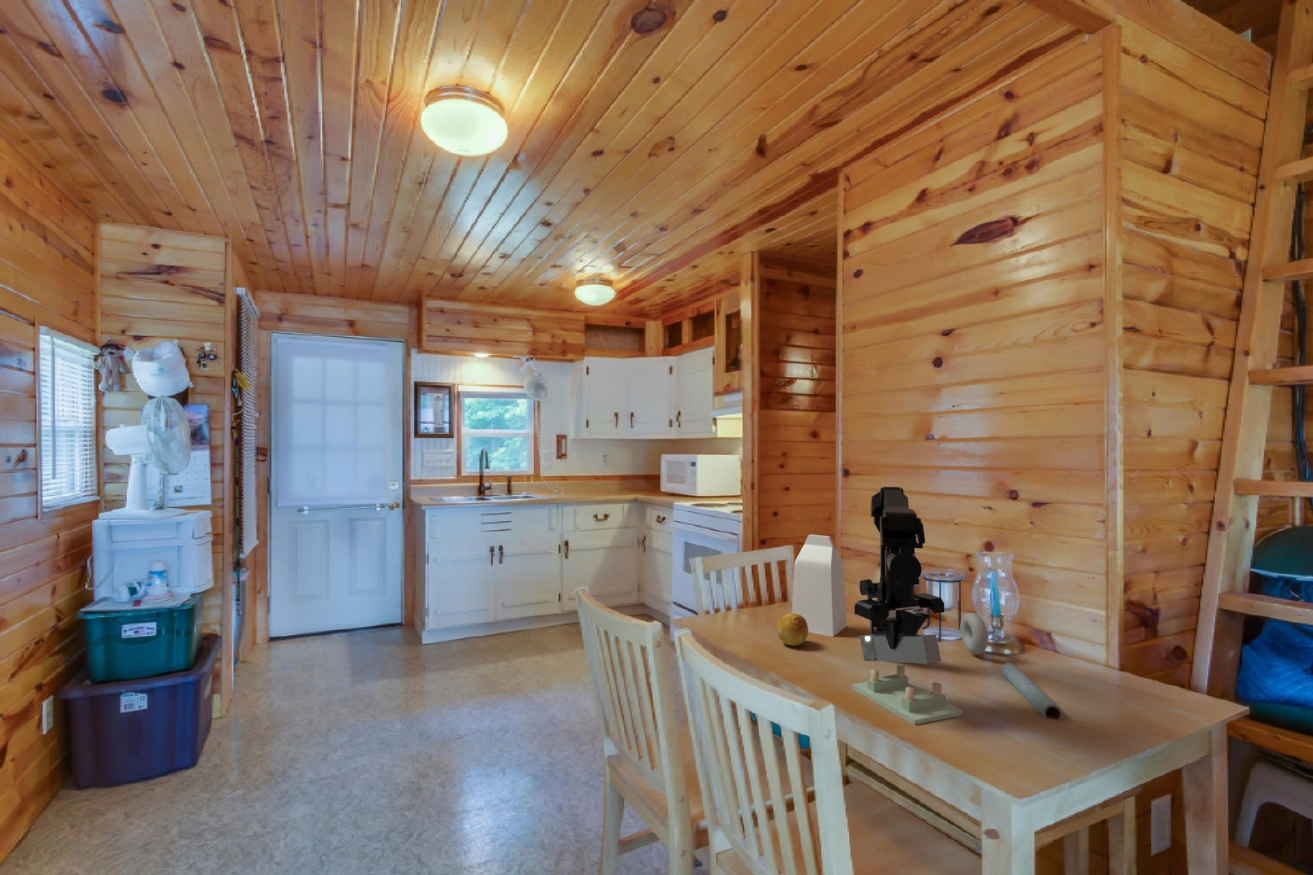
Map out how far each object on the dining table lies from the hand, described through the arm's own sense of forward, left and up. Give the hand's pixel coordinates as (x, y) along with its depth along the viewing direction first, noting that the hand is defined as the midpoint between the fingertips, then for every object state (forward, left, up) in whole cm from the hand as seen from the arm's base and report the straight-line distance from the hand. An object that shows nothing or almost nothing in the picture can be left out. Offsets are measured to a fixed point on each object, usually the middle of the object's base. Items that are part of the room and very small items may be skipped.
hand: (899, 647), depth 128 cm
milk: (-13, -46, -11) cm, 49 cm away
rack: (0, +2, -10) cm, 11 cm away
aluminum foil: (-28, +9, -11) cm, 31 cm away
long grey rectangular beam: (0, +2, -2) cm, 3 cm away
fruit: (+2, -36, -11) cm, 38 cm away
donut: (-37, -15, -11) cm, 41 cm away
